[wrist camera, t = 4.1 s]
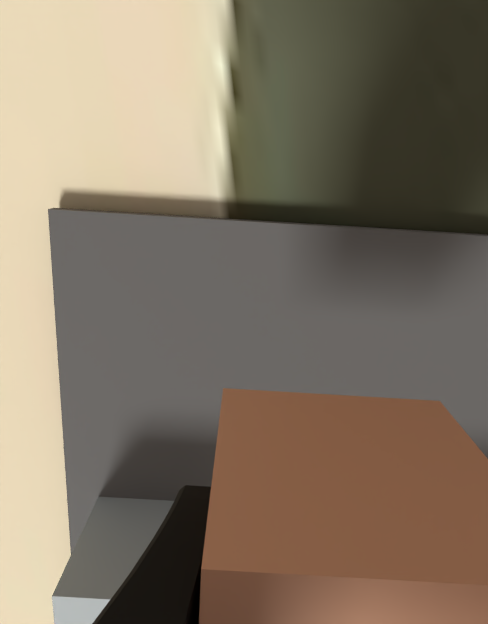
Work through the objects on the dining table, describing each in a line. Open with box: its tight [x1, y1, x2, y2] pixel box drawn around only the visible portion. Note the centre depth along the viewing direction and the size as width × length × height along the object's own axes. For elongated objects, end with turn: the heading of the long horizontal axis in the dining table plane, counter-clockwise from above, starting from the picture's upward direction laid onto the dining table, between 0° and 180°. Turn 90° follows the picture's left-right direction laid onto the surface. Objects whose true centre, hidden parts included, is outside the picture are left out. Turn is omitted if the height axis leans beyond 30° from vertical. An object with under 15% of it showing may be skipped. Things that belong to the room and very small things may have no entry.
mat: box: [48, 208, 488, 554], centre depth 18 cm, size 18×17×1 cm
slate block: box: [52, 497, 174, 624], centre depth 17 cm, size 4×4×4 cm
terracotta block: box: [199, 388, 488, 624], centre depth 8 cm, size 4×4×4 cm
